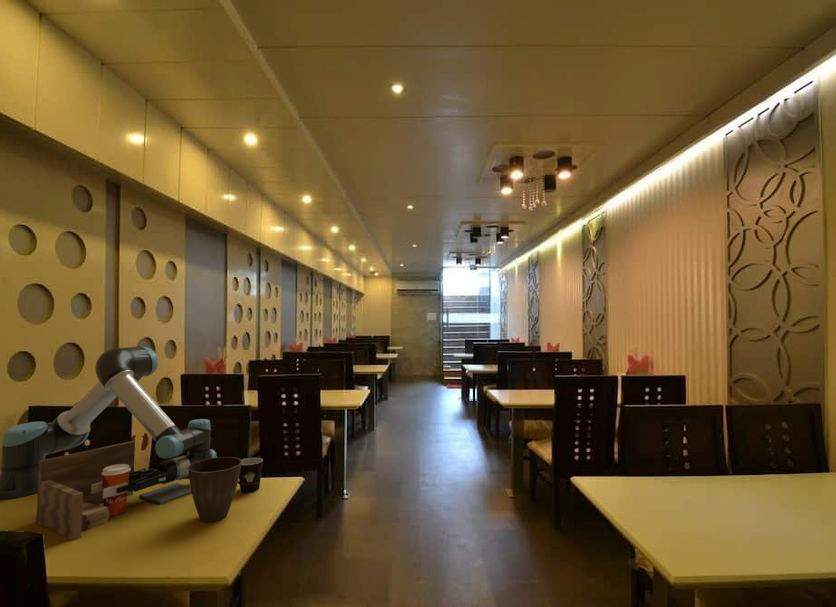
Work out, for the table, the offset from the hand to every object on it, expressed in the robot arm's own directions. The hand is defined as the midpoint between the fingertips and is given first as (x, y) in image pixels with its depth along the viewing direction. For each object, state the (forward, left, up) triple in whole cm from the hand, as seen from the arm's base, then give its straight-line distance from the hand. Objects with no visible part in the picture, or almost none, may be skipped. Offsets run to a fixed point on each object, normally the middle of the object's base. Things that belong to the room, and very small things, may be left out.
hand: (97, 491), depth 130 cm
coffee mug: (+20, +38, -8) cm, 44 cm away
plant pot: (+31, +18, -8) cm, 37 cm away
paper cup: (0, +5, -8) cm, 10 cm away
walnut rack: (-2, +3, -8) cm, 9 cm away
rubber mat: (0, +22, -8) cm, 23 cm away
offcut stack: (0, -3, -8) cm, 9 cm away
